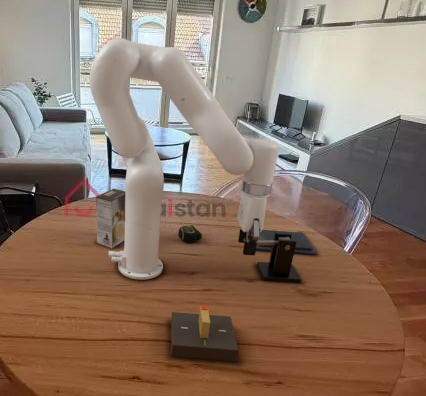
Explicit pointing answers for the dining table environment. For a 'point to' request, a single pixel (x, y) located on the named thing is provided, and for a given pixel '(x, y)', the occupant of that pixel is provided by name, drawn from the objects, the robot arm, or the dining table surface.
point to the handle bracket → (280, 261)
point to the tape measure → (189, 234)
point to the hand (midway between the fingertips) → (246, 247)
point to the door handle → (268, 241)
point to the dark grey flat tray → (301, 240)
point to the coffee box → (111, 218)
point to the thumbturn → (204, 322)
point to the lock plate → (203, 347)
